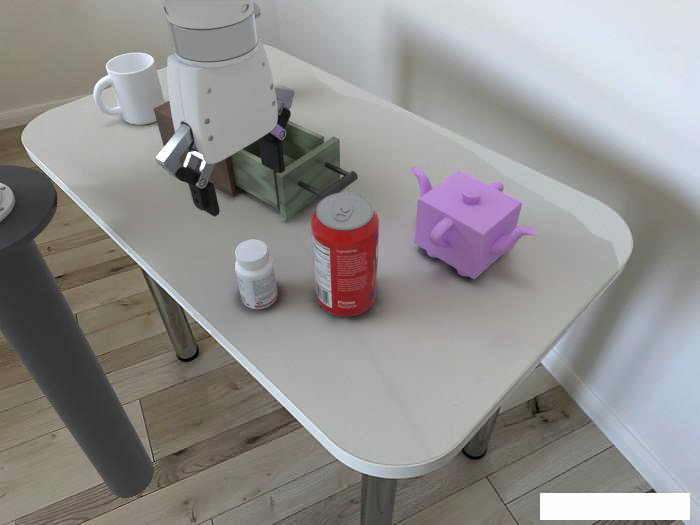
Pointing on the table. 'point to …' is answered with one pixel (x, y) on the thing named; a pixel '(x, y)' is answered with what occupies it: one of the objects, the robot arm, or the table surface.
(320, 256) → the soda can
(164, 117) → the cabinet
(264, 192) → the drawer
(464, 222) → the teapot
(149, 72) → the mug
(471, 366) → the table surface
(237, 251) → the pill bottle
